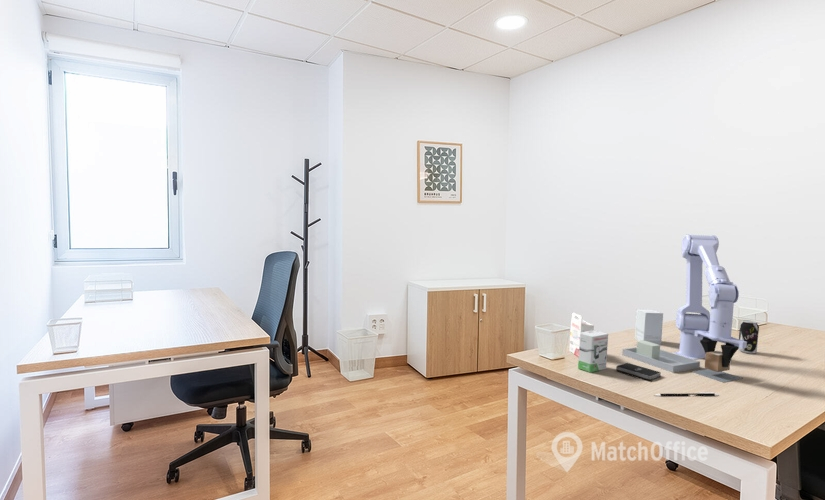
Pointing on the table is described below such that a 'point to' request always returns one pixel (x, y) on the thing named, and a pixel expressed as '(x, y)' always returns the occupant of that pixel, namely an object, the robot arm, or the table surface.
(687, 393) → the pen
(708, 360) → the labelled block
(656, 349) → the sage block
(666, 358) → the grey bin
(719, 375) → the slate mat
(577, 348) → the ink cartridge box
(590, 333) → the ink box
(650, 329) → the supplement box
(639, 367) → the external hard drive
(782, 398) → the table surface
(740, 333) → the beverage can
